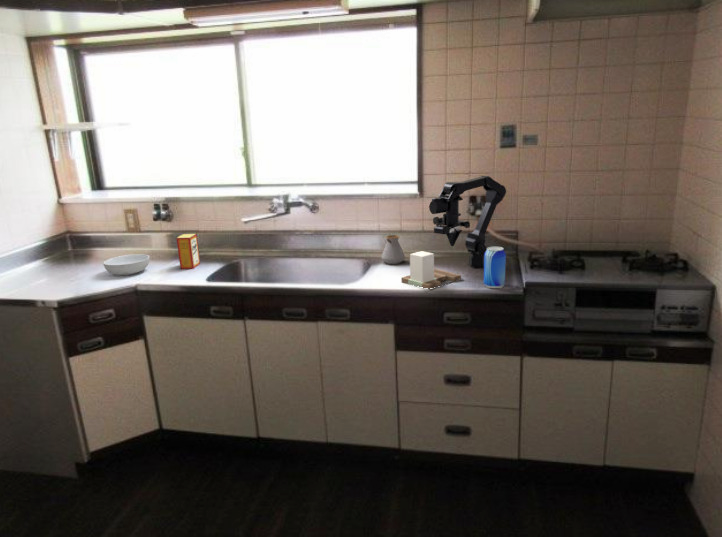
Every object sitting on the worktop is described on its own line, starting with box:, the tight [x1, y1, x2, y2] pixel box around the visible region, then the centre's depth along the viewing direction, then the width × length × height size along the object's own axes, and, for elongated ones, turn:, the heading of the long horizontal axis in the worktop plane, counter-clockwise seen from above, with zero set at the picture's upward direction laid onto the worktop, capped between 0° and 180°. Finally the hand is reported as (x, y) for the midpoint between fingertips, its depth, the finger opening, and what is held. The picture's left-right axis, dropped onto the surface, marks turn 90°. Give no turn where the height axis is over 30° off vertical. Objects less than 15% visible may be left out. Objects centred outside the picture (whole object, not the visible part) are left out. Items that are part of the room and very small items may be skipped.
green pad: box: [407, 278, 437, 288], centre depth 224 cm, size 9×8×2 cm
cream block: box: [409, 250, 435, 283], centre depth 222 cm, size 7×7×11 cm
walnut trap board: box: [400, 268, 462, 289], centre depth 227 cm, size 20×16×2 cm
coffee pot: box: [381, 234, 406, 265], centre depth 253 cm, size 21×12×15 cm, turn 168°
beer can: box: [483, 246, 507, 289], centre depth 215 cm, size 8×8×16 cm
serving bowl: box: [102, 253, 151, 276], centre depth 259 cm, size 21×21×7 cm
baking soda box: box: [176, 233, 201, 270], centre depth 264 cm, size 10×6×16 cm
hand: (452, 245), depth 237 cm, fingers closed
